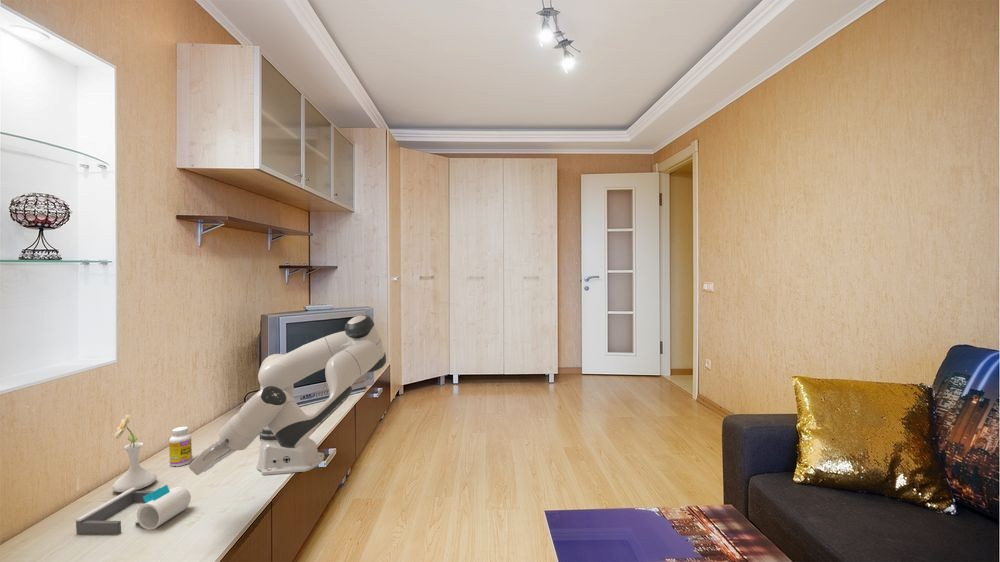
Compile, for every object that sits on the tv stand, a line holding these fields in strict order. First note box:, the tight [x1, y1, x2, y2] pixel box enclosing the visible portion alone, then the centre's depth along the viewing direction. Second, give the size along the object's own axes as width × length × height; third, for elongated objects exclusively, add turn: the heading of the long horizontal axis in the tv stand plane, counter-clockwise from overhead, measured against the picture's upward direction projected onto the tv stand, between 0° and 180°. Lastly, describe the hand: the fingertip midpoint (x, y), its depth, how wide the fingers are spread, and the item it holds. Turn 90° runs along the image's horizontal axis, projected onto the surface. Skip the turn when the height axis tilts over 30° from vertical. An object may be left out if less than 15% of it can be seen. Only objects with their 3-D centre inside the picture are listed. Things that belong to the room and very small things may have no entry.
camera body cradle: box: [75, 488, 154, 535], centre depth 128 cm, size 12×17×4 cm, turn 177°
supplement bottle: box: [168, 426, 193, 467], centre depth 163 cm, size 7×7×13 cm
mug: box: [134, 484, 192, 530], centre depth 127 cm, size 12×9×12 cm
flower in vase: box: [111, 413, 158, 493], centre depth 145 cm, size 13×11×25 cm
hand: (205, 468), depth 127 cm, fingers closed
